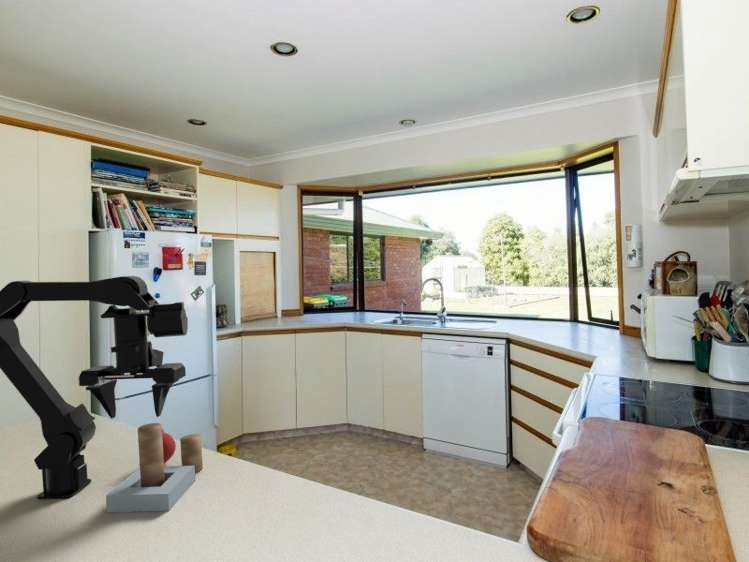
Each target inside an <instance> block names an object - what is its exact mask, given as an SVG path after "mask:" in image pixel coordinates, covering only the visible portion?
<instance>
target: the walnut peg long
mask: <svg viewBox="0 0 749 562" xmlns="http://www.w3.org/2000/svg"><path fill="white" fill-rule="evenodd" d="M162 425H163V424H162V423H159V422H152V423H147V424H143V425H141V426H139V427H138V428H137V443H138V455H139V456H138V458H139V468H140V477H141V487H161V486H162V485H163V484H164V483H165V475H164V467H165V464H164V457H163V440H162V428H163V426H162Z"/></svg>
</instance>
